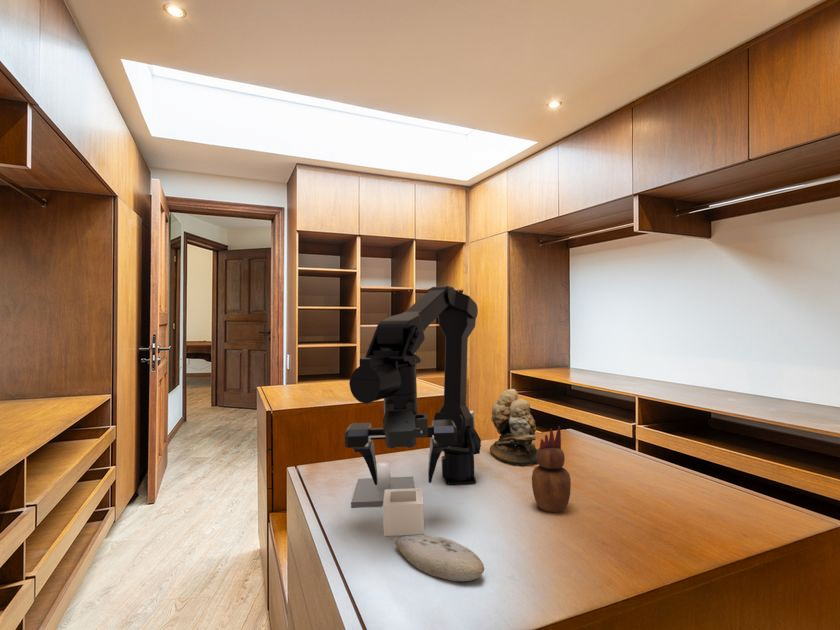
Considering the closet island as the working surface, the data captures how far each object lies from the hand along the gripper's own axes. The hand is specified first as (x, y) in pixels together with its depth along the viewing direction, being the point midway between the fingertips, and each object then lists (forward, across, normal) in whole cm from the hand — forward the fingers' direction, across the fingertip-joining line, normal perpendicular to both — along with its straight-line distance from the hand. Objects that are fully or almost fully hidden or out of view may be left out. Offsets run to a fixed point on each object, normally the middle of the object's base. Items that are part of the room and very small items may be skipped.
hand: (403, 483), depth 75 cm
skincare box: (+8, +16, +40) cm, 44 cm away
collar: (+7, 0, 0) cm, 7 cm away
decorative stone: (+8, +5, -12) cm, 15 cm away
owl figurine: (+8, +28, +34) cm, 45 cm away
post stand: (+7, -4, +14) cm, 16 cm away
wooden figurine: (+8, +27, +4) cm, 28 cm away
